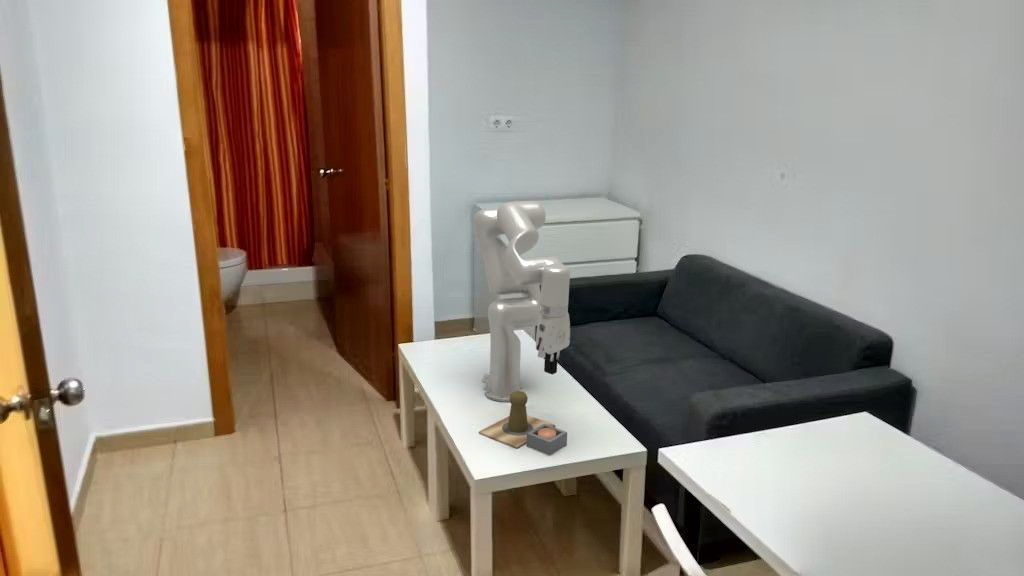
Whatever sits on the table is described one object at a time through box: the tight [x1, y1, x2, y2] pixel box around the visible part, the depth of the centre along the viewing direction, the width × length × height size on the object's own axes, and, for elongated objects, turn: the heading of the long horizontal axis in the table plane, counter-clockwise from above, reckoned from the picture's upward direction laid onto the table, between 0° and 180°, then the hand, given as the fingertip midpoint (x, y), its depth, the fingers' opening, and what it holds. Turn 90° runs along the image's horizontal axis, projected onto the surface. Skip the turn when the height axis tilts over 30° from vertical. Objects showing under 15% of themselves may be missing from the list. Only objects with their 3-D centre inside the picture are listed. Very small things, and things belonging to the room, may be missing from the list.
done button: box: [538, 428, 556, 440], centre depth 217 cm, size 5×5×3 cm
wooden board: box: [478, 414, 556, 450], centre depth 226 cm, size 14×18×1 cm
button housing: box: [525, 424, 568, 456], centre depth 217 cm, size 8×8×4 cm
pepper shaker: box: [507, 391, 529, 433], centre depth 225 cm, size 6×6×11 cm
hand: (550, 372), depth 216 cm, fingers closed
